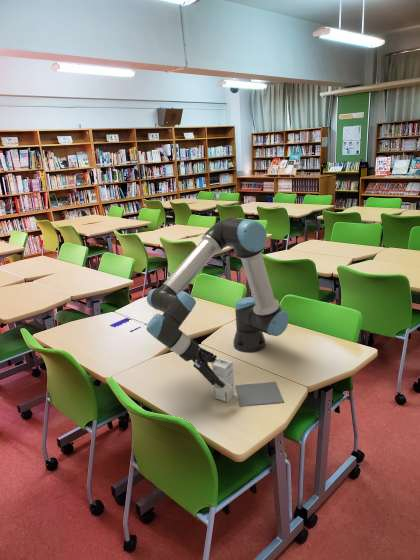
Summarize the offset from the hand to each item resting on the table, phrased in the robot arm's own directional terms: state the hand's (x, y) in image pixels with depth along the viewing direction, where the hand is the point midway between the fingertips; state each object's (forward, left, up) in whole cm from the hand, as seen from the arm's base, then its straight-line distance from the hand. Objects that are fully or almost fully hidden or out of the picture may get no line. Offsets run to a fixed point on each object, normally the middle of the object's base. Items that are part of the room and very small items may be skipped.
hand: (228, 380), depth 156 cm
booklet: (-77, -44, -8) cm, 90 cm away
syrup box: (0, -2, -7) cm, 7 cm away
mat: (0, +11, -7) cm, 13 cm away
